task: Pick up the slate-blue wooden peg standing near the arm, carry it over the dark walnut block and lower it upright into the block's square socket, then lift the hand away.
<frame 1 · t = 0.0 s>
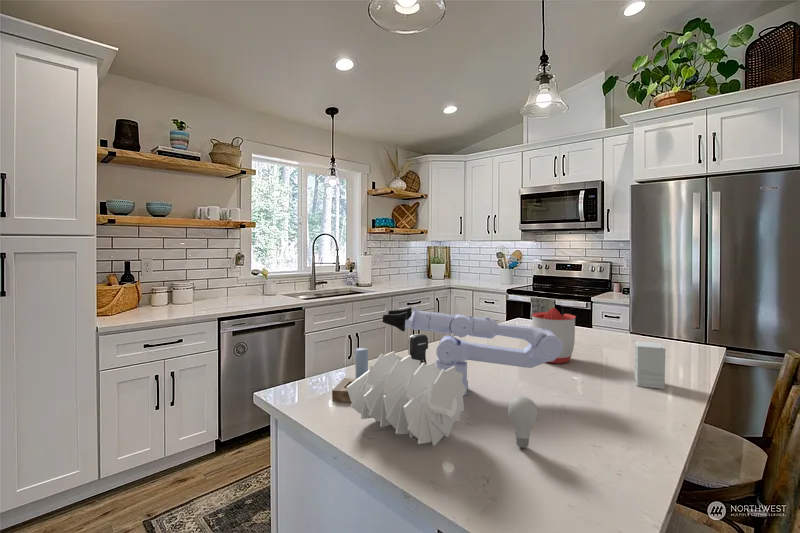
hand: (385, 316, 124), 22 cm above the counter, tool horizontal, fingers open, 7 cm apart
supplement box: (648, 385, 126), on the counter
spiral staircase: (407, 431, 95), on the counter
peg: (361, 380, 130), on the counter
socket block: (356, 395, 117), on the counter
lightbulb: (522, 448, 87), on the counter
citrus juicer: (553, 359, 154), on the counter
battery charger: (418, 366, 145), on the counter
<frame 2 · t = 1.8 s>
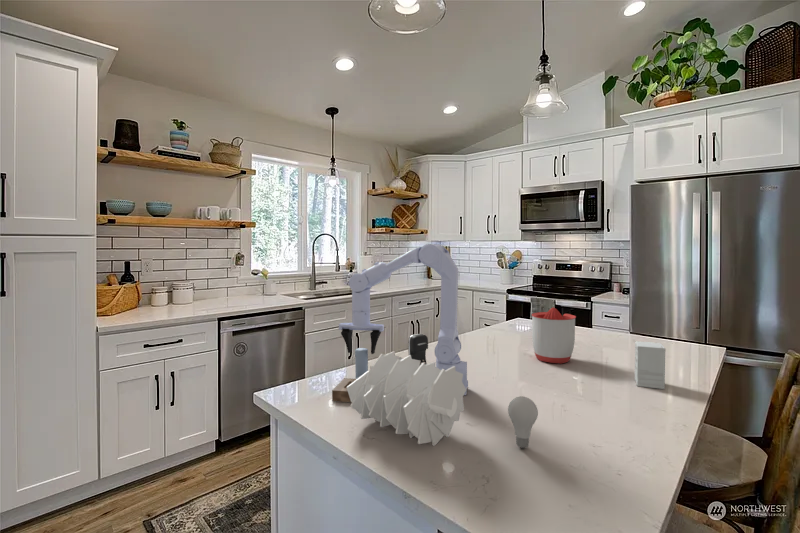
hand: (361, 352, 130), 9 cm above the counter, tool pointing down, fingers open, 7 cm apart
nothing on the counter moved.
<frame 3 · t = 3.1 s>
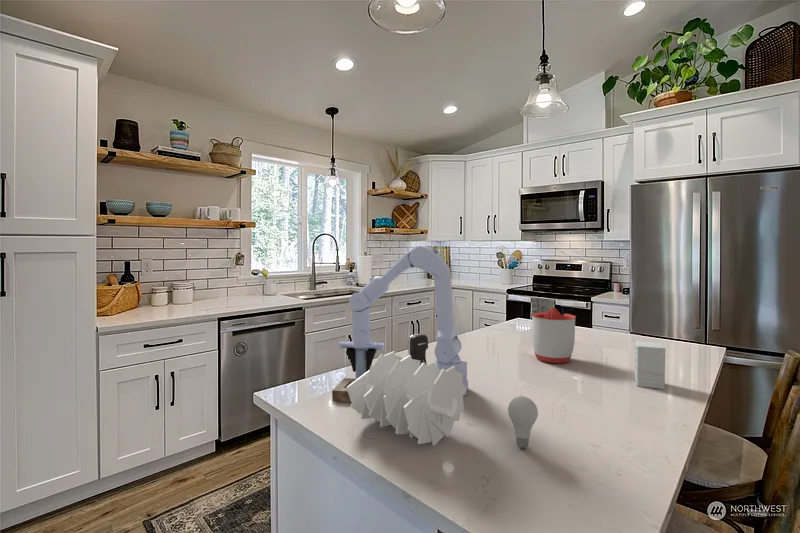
hand: (361, 371, 130), 3 cm above the counter, tool pointing down, fingers closed on peg, 4 cm apart
peg: (361, 380, 130), on the counter, touching gripper
everything else where it was.
when the fingers open (4 cm above the counter, at t = 7.4 s): peg drops 1 cm, resting in socket block.
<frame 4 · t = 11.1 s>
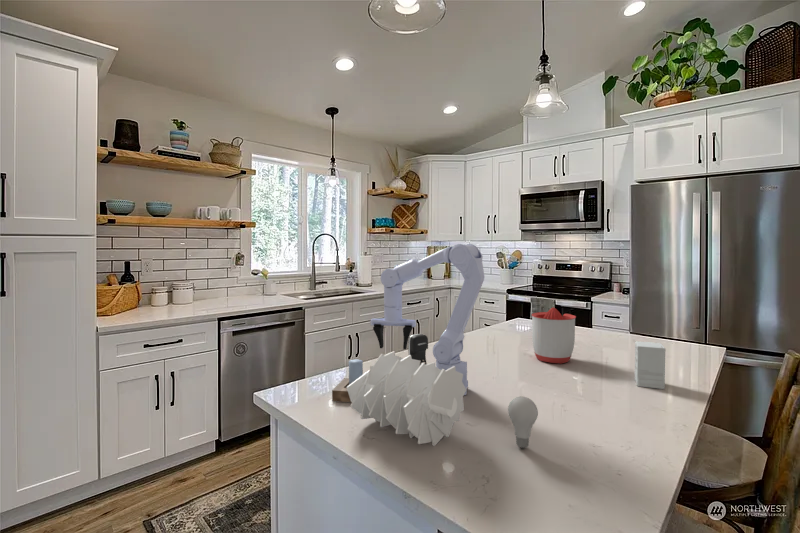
hand: (393, 348, 130), 10 cm above the counter, tool pointing down, fingers open, 7 cm apart
peg: (356, 395, 117), resting in socket block
everything else where it was.
at the end: peg 0.0 cm off-centre on the socket block, point 0.0 cm above the socket block's base; peg tilted 1°; the gripper is holding nothing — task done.
